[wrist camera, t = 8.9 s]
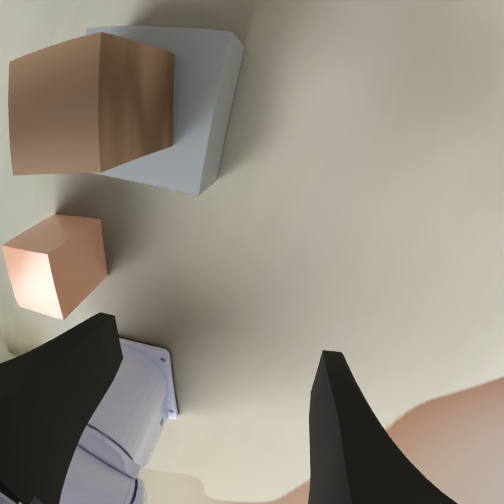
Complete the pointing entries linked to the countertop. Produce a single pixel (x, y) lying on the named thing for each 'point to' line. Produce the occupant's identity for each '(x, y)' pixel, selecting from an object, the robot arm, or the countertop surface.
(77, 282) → the terracotta block
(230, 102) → the slate base block
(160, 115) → the walnut block
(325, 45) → the countertop surface
